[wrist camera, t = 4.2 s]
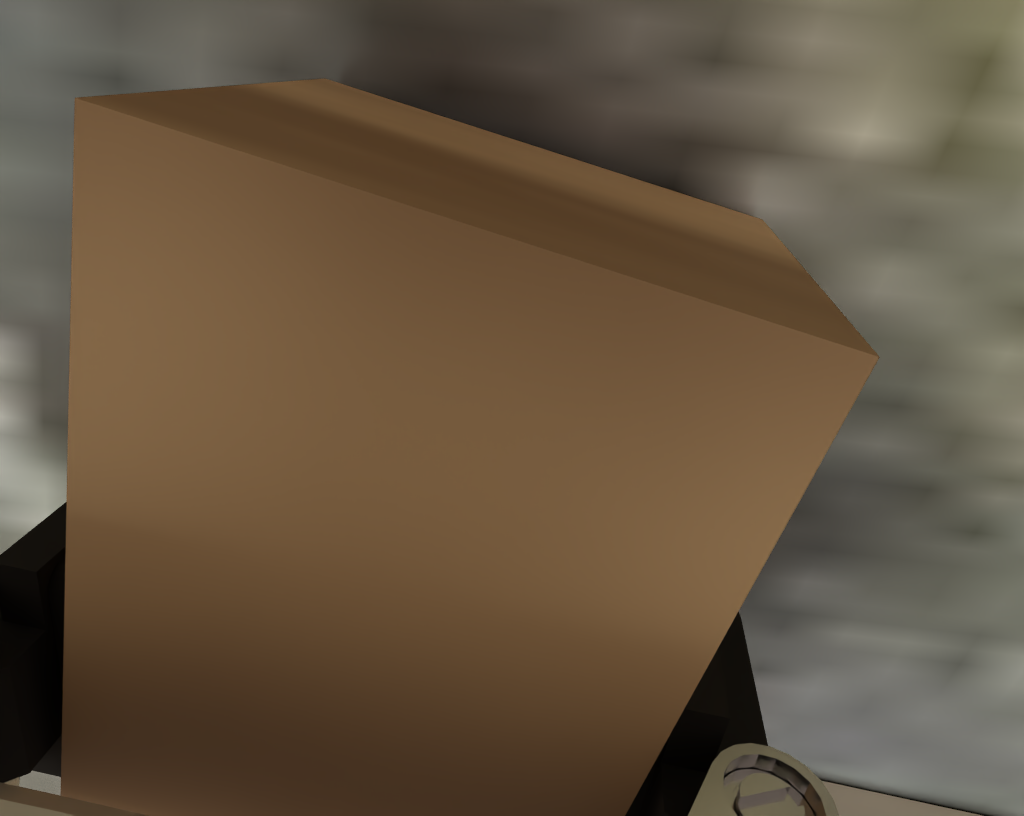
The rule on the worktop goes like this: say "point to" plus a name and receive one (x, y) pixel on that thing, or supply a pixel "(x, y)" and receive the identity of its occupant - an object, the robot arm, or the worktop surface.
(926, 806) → the cabinet frame
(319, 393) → the door panel
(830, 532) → the worktop surface
